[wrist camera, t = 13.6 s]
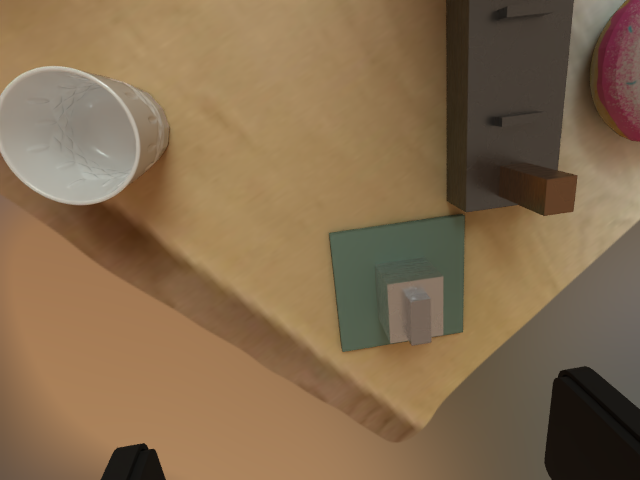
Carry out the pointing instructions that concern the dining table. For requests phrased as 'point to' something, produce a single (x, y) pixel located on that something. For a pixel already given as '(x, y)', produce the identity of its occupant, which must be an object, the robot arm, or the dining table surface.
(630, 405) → the robot arm
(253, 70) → the dining table surface
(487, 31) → the plane body
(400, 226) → the rubber mat
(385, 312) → the lever cap
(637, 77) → the donut
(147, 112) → the white cup
